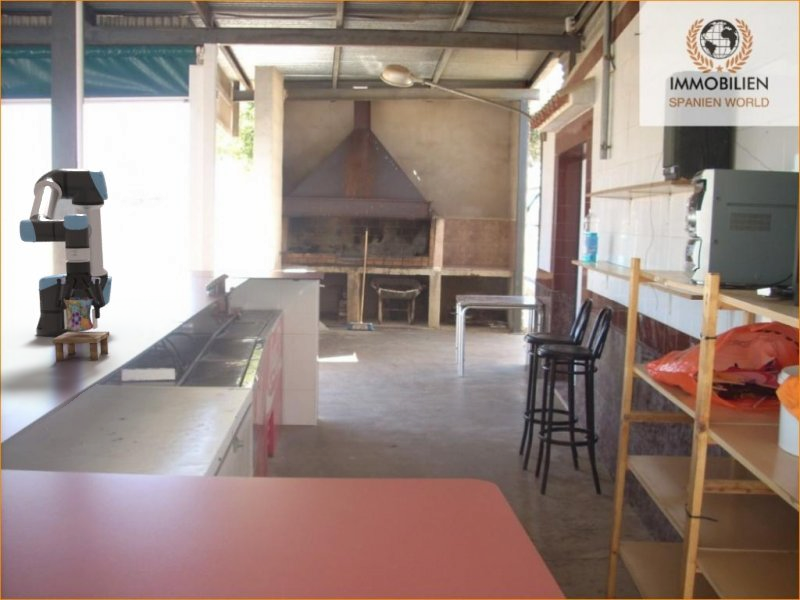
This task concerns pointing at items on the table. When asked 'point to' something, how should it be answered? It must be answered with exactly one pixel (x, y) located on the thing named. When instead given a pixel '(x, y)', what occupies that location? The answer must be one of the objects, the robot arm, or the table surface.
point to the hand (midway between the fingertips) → (81, 328)
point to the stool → (81, 338)
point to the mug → (79, 313)
